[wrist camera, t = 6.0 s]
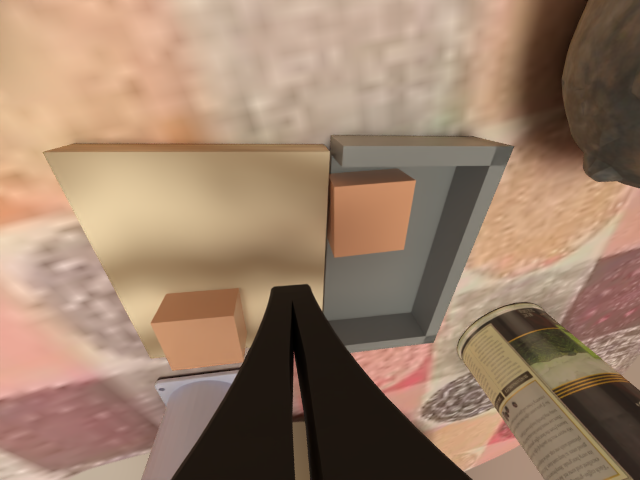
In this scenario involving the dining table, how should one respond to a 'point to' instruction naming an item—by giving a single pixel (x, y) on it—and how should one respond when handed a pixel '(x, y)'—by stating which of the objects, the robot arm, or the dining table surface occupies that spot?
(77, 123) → the dining table surface
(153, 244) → the board
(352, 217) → the tile right
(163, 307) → the tile left
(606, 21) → the bowl
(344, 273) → the tray
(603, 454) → the coffee can
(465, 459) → the dining table surface
